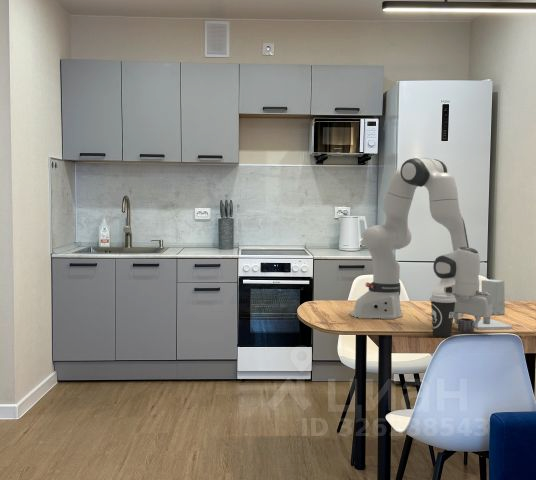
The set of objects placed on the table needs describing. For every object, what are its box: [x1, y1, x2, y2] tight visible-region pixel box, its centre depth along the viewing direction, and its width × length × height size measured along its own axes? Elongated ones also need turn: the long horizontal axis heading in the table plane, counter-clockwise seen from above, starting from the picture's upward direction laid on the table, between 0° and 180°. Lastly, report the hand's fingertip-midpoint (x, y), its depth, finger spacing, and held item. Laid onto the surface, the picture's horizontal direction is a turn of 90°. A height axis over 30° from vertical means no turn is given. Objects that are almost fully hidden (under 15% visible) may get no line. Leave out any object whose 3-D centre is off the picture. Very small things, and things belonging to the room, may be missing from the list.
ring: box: [457, 317, 475, 333], centre depth 249 cm, size 6×6×4 cm
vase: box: [431, 278, 464, 318], centre depth 281 cm, size 14×14×20 cm
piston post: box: [473, 316, 513, 331], centre depth 257 cm, size 14×14×6 cm
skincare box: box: [481, 278, 506, 316], centre depth 285 cm, size 8×6×15 cm
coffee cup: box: [429, 293, 457, 338], centre depth 239 cm, size 10×10×15 cm
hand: (466, 325), depth 249 cm, fingers open, 6 cm apart
